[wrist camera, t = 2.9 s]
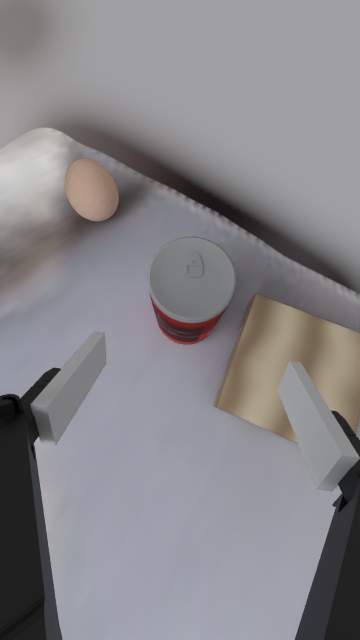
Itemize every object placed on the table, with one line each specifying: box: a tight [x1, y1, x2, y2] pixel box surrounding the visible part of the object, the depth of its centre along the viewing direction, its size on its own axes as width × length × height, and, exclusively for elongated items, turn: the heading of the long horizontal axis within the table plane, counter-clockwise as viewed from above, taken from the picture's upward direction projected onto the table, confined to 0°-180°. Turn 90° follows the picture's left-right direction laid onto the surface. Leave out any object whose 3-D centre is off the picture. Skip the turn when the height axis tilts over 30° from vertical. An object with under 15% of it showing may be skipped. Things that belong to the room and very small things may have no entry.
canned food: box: [148, 237, 236, 344], centre depth 24 cm, size 8×8×11 cm
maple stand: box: [213, 294, 360, 443], centre depth 26 cm, size 14×14×3 cm
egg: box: [65, 159, 119, 221], centre depth 30 cm, size 7×7×8 cm
